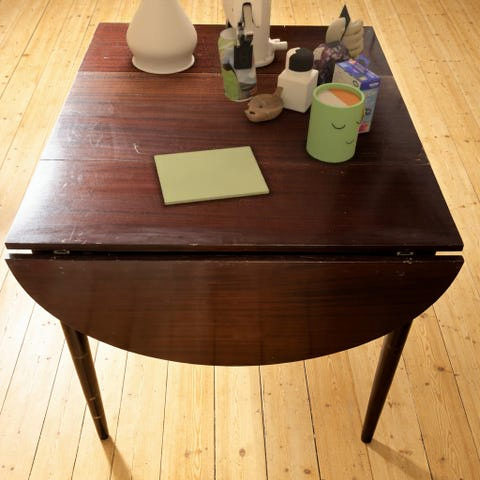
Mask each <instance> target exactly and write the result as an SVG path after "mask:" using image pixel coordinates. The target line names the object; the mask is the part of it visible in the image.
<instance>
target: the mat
mask: <svg viewBox="0 0 480 480" xmlns="http://www.w3.org/2000/svg"><path fill="white" fill-rule="evenodd" d="M153 159H154V164H155V167H156V170H157V176H158V180H159V184H160V189H161V192H162V197H163V201H164V205H165V206H168V205H176V204H185V203H186V204H187V203H194V202H203V201H211V200H212V201H214V200H221V199H231V198H239V197H249V196H257V195H266V194H267V195H268V194H269V193H270V189H269V187H268V185H267V183H266V181H265V178H264V176H263V174H262V171H261V169H260V167H259V165H258V162H257V160H256V158H255V155H254V153H253V150H252V148H251V146H250V145H249V146H240V147H239V146H238V147H227V148H218V149H209V150H208V149H207V150H199V151H188V152H178V153H168V154H167V153H166V154H157V155H153Z"/></svg>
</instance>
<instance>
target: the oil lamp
mask: <svg viewBox="0 0 480 480" xmlns="http://www.w3.org/2000/svg"><path fill="white" fill-rule="evenodd" d="M277 86H278V85H277ZM277 86H276V89H275V91H274V93H271V94H270V93H262V94H256V95H254V96H253V97H252V98H251V99H250V100H249V101H250V102H248V103H247V107H248V109H245V110H244V113H245V116H246V117H247V119H248V120H249V121H251V122H253V123H260V122H264V121H271V120H274V119H276V118H277V117H278V116H279V115H280V113H282V111H283V109H284V108H283V105H284V102H283V99H281V97H280V94H281V91H282V90H283V87H281V86H280V87H279V86H278V87H277Z"/></svg>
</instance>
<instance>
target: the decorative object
mask: <svg viewBox="0 0 480 480" xmlns="http://www.w3.org/2000/svg"><path fill="white" fill-rule="evenodd" d="M364 23H365V21H364V20H363V19H362V18H357V19H355V21H354V22H353V20H352V19H351V16H350V13H349V11H348V7H347V5H346V4H344V5H343V7H342V10H341V12H340V14H339V16H338V18H336V19H335V20H333V21H332V22H331V24H330V25H328V28H327V31H326V34H325V43H328V42H332V41H336V40H340V41H342V42H343V43H344V44H345V46H346V47H347V48H348V50H349V53H350V55H351V57H352V60H355V61H356V60H357V59H358V58H359V56H360V54H361V53H362V51H363V50H364V47H365V46H364V38H363V35H364V33H365V29H364Z"/></svg>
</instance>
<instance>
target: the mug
mask: <svg viewBox="0 0 480 480" xmlns="http://www.w3.org/2000/svg"><path fill="white" fill-rule="evenodd" d="M364 99H365V96H364V94H363V92H362V91H361V90H359V89H358V88H356V87H354V86H351V85H347V84H342V83H327V84H323V85H320V84H319V85H318V86H317V87H316V88H315V90H314V92H313V98H312V104H311V105H310V113H309V114H310V115H309V124H308V131H307V137H306V139H307V140H306V141H307V142H306V152H307V153H308V154H309V155H310V156H311V157H312V158H313V159H317V160H318V161H321V162H326V163H342V162H345V161H348V160H350V159H352V158H353V157H354V155H355V152H356V146H357V141H358V136H359V134H358V131H359V127H360V126H361V124H362V122H363V119H364V116H365V105H364ZM361 115H362V116H361Z"/></svg>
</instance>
